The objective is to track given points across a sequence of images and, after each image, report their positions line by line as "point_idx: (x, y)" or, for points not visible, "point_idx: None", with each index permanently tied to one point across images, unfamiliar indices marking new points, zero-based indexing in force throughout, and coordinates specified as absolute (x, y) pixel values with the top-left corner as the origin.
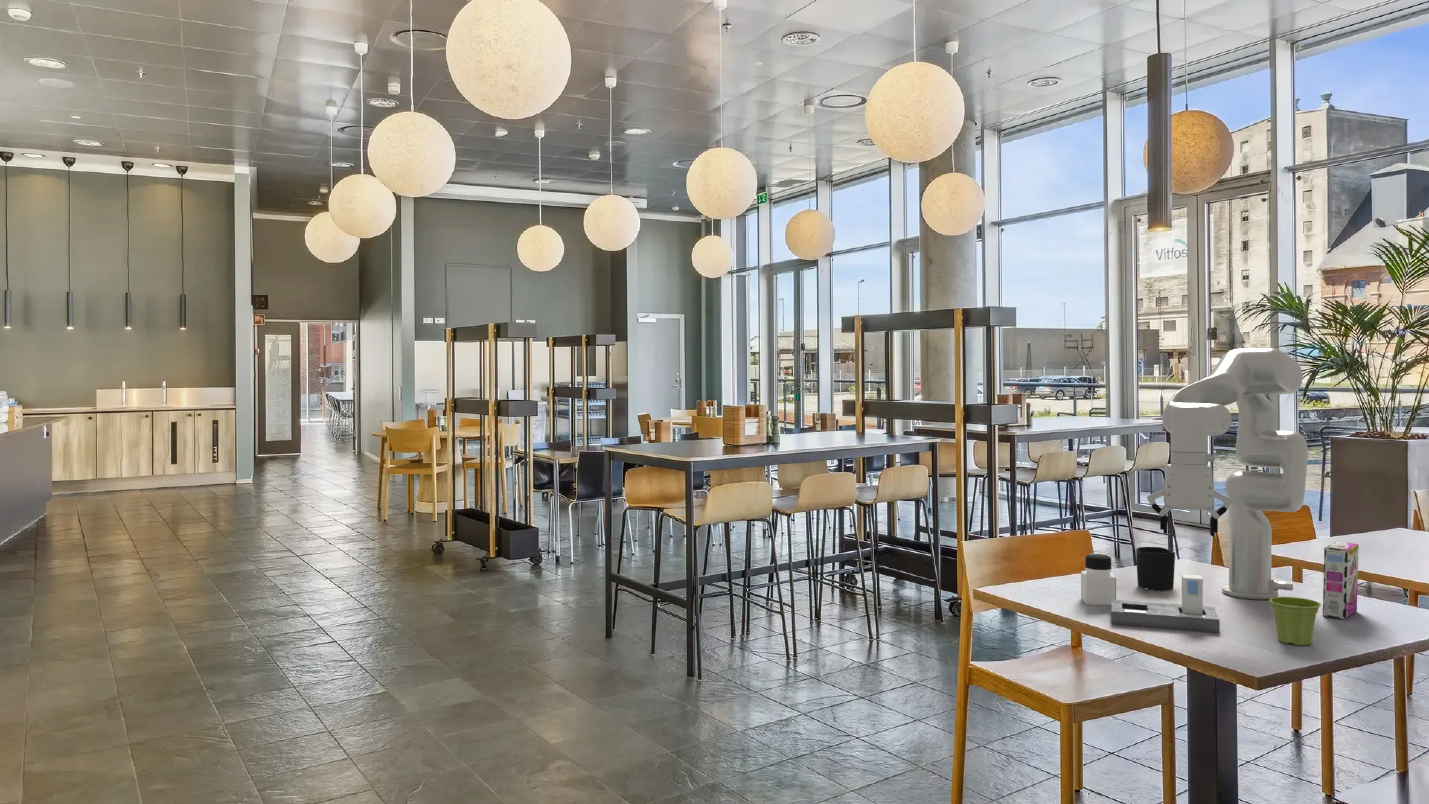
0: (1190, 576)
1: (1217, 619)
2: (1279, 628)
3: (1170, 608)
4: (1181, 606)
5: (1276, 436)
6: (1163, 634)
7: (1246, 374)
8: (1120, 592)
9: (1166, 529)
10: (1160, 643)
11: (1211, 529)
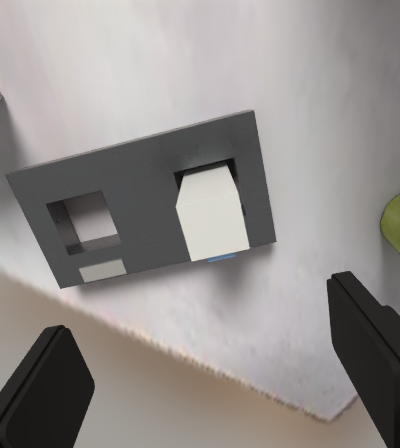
0: (208, 228)
1: (272, 242)
2: (396, 249)
3: (159, 194)
4: (177, 155)
5: None
6: (176, 291)
7: None
8: None
9: (83, 410)
10: (185, 344)
11: (354, 379)
